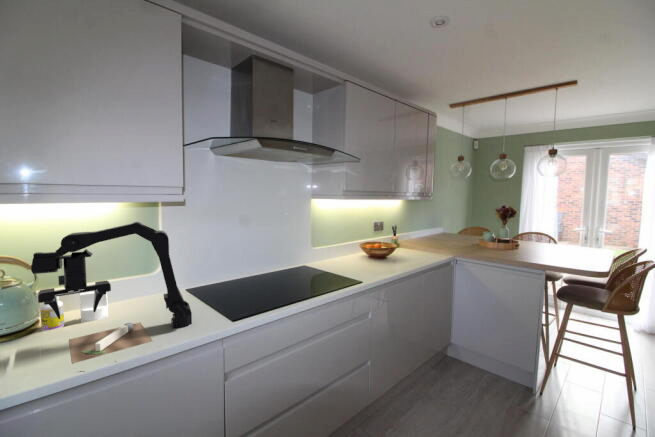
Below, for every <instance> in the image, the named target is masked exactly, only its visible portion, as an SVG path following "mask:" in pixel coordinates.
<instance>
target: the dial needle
mask: <svg viewBox="0 0 655 437" xmlns="http://www.w3.org/2000/svg"><path fill="white" fill-rule="evenodd" d="M133 324H134V323H133V322H127V323H124V324H123V325H122V326H120V328H119V327H118V328H119V329H117V330H116V331H114V332H113V333H111V334H109V335H108V336H106V337H105V338H103V339H102V340H100V341H99V342H97V343H95V348H96V351H101V350H103V349H104V348H106V347H107V346H109V345H110V344H111V343H113V342H114V341H116V340H117V339H119V338H120V337H122V336H123V335H125V334H126V333H128V332H132V331H133Z"/></svg>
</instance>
